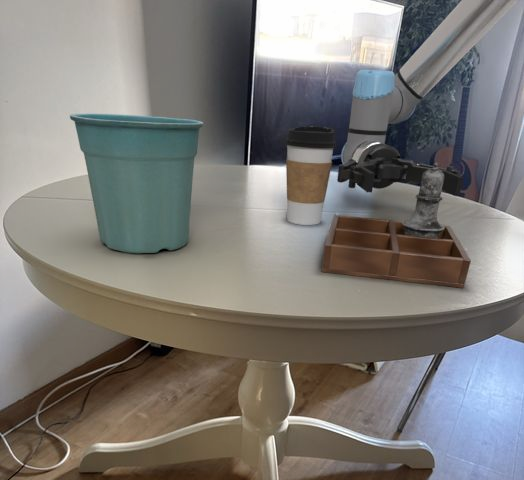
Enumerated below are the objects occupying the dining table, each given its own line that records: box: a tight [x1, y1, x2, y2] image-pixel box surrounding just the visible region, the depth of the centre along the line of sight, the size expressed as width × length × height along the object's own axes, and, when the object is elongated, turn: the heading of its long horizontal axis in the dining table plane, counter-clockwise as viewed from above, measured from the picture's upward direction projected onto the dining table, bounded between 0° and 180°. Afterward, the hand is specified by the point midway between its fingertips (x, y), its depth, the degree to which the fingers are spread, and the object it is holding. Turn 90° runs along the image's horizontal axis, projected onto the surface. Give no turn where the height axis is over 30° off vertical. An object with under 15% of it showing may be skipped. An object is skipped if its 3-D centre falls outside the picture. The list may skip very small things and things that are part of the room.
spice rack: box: [321, 214, 472, 289], centre depth 66 cm, size 17×17×4 cm
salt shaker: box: [402, 161, 445, 238], centre depth 67 cm, size 6×6×12 cm
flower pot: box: [69, 113, 204, 254], centre depth 65 cm, size 16×16×16 cm
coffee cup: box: [284, 125, 337, 226], centre depth 81 cm, size 8×8×15 cm
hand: (415, 184), depth 71 cm, fingers open, 13 cm apart
